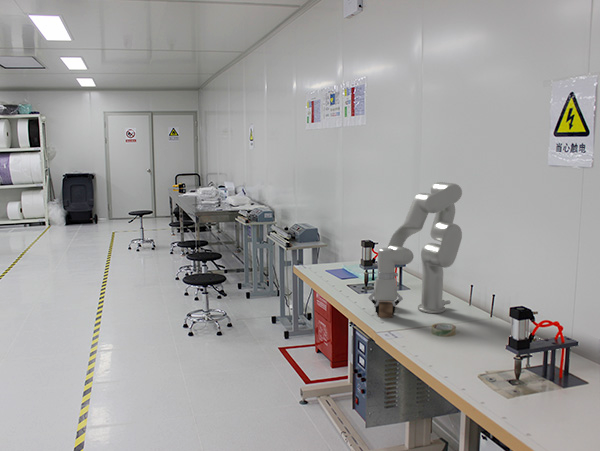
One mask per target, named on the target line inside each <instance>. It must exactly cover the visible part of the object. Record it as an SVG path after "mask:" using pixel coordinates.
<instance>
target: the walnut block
mask: <svg viewBox="0 0 600 451" xmlns="http://www.w3.org/2000/svg"><path fill="white" fill-rule="evenodd" d="M378 305H379V315H377V316H378V318H379V317H380V318H382V319H385V318H386V319H393V315H392V313H393V304H392V301H380V302H379V304H378ZM380 318H379V319H380Z"/></svg>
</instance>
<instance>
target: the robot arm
mask: <svg viewBox="0 0 600 451" xmlns="http://www.w3.org/2000/svg"><path fill="white" fill-rule="evenodd" d="M462 195H463V190H462V188H461V186H460V185H458V184H457V183H453V182H445V181H444V182H443V181H439V182H438V181H437V182H434V183H433V184H432V185H431V187H430V193H427V192H419V193H417V194H416V195H415V196H414V197H413V200H412V202H411V204H410V206H409V209H408V212H407V214H406V217H405V220H404V222H403V223H402V224H401V225H400V226H399V227H398V228H397V230H395V232H394V233H393V234H392V235H391V238H390V240H389V243H388V244H387V247H381V248H379V249H378V251H377V276H376V277H375V280H374V282H375V287H373V292H372V293H371V294H370V295H368V297H367V298H368V300H369V301H370V302H372V304H373V306H374V305H375V306H376V307H375V313H376V314H377V316H378V315H379V305H378V304H379V302H380V301H392V304H393V313H392V316H394V315H395V313H396V306H397V305H399V303H400V302H402V301H403V296H402V295H401V294H400V293H399V292H398V286H397V278H396V277H398V276H399V273H398V272H395V271H396V266H395V265H403V266H404V265H409V264H411V262H413V260H414V253H413V252H412V250H411V249H409V248H407V247H404V245H405V242H406V241H407V239H408V238H409V237H411V236H412V235H414V234H416V233H419V232H420V231H422V230H423V228H424V225H425V222H426V220H427V218H428V215H429V214H435V216H434V219H433V222H432V224H431V229H430V236H431V238H432V239H433V240H434V241H437V242H440V244H439V243H435V242H429V243H428V242H427V243H426V244H424V245H423V246H422V248H421V252H420V260H421V264H422V265H421V266H422V272H421V273H422V274H421V275H422V278H421V303H420V304H419V305H417V309H418V310H419V311H420V312H424V313H428V314H442V313H444V312H446V307H445V306H446V305H451V300H449V299H448V300H446V299H443V293H444V291H443V289H444V288H443V287H444V268H445V269H446V268H449V267H452V265H453V264H454V263H455V261H456V259H457V255H458V252H459V250H460V249H459V248H460V246H461V242H462V238H463V232H462V229H461V227H460V226H459V225H458V224H456V223H454V220H455V215H456V205H455V204H456V203H458V202H459V201H460V199H461V198H462ZM374 297H375V299H376V301H375V300H374Z"/></svg>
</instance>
